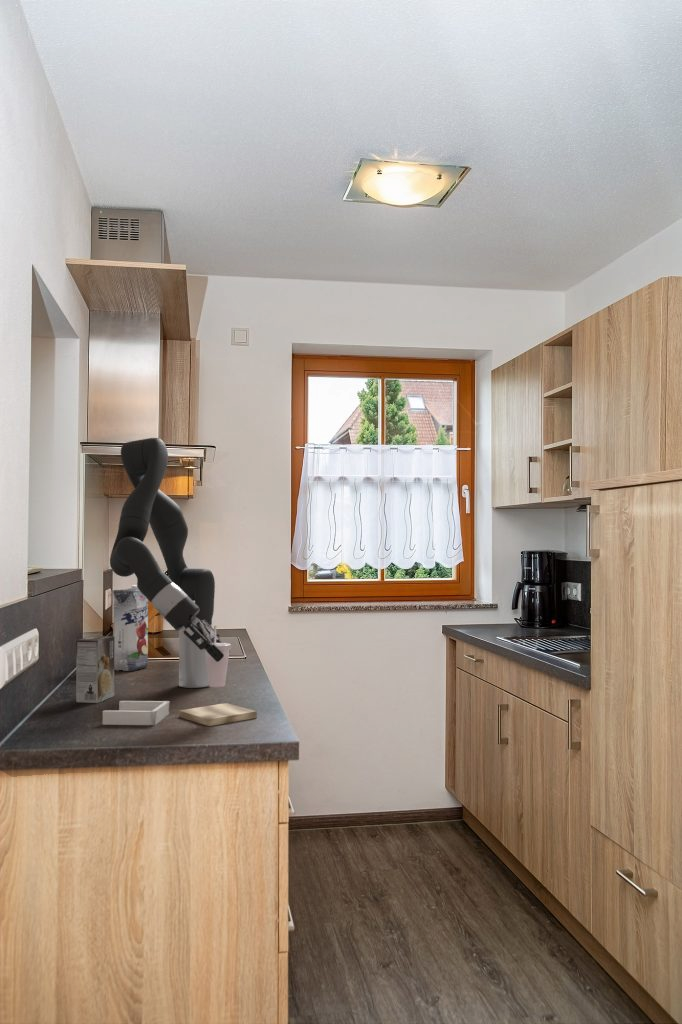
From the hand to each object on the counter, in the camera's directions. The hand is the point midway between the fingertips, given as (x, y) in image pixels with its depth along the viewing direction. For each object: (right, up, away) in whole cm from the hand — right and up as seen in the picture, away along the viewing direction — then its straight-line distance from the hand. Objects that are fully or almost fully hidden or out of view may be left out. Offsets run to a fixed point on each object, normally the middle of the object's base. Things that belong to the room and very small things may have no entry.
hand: (224, 656), depth 193 cm
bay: (-20, -14, -2) cm, 25 cm away
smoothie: (-2, -7, 0) cm, 7 cm away
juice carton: (-40, -17, +72) cm, 84 cm away
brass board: (-1, -14, 0) cm, 14 cm away
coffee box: (-37, -15, +22) cm, 45 cm away
